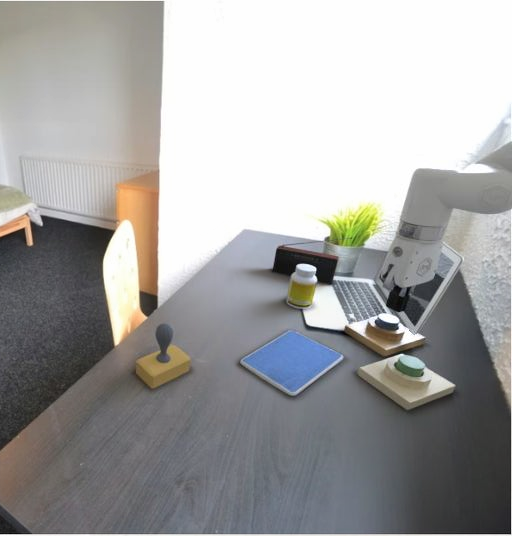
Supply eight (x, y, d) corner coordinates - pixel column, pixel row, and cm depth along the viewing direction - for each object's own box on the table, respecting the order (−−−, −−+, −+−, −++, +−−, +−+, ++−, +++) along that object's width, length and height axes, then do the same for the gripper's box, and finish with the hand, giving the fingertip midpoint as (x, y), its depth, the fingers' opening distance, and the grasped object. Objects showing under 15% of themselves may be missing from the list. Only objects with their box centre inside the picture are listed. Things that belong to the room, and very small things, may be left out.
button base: (380, 322, 92) (384, 308, 90) (422, 345, 83) (428, 330, 82) (343, 332, 89) (347, 318, 87) (383, 358, 80) (388, 343, 78)
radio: (271, 273, 117) (279, 228, 111) (274, 269, 120) (282, 225, 113) (338, 288, 108) (351, 240, 101) (340, 284, 110) (352, 236, 103)
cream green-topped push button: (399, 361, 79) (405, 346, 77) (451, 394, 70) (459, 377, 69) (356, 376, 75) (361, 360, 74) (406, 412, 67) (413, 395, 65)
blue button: (384, 319, 87) (386, 311, 86) (401, 328, 83) (404, 321, 82) (371, 323, 86) (373, 315, 85) (388, 332, 82) (391, 324, 81)
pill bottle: (315, 310, 98) (324, 272, 93) (291, 310, 98) (299, 273, 93) (304, 298, 103) (312, 262, 98) (282, 298, 103) (289, 262, 99)
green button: (405, 361, 74) (408, 353, 73) (426, 374, 70) (430, 365, 69) (390, 366, 72) (393, 357, 72) (411, 379, 69) (415, 371, 68)
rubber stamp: (172, 356, 82) (174, 310, 77) (190, 371, 78) (194, 323, 73) (135, 373, 78) (135, 325, 73) (151, 390, 73) (153, 340, 68)
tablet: (290, 332, 89) (291, 327, 89) (344, 360, 80) (346, 355, 79) (237, 364, 79) (238, 359, 79) (293, 400, 70) (294, 395, 69)
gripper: (412, 242, 69) (386, 325, 77) (466, 230, 73) (436, 309, 81) (374, 230, 76) (354, 307, 83) (426, 219, 80) (402, 294, 88)
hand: (395, 308), depth 82 cm, fingers closed
